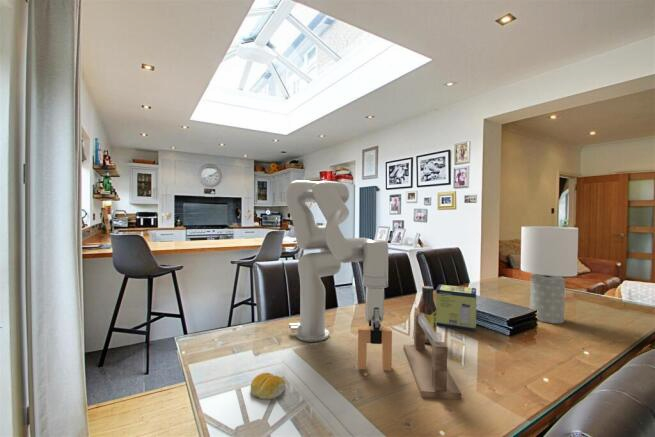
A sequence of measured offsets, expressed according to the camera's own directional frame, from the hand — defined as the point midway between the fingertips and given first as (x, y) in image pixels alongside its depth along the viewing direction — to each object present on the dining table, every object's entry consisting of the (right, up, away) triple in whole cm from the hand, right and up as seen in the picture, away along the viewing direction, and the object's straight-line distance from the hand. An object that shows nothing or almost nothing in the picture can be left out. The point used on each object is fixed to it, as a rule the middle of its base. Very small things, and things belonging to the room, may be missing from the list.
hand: (374, 336), depth 94 cm
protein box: (+40, -9, +37) cm, 55 cm away
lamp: (+85, -10, +45) cm, 96 cm away
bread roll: (-30, -10, -12) cm, 34 cm away
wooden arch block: (0, -9, 0) cm, 9 cm away
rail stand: (+16, -10, -1) cm, 19 cm away
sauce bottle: (+23, -10, +20) cm, 32 cm away
